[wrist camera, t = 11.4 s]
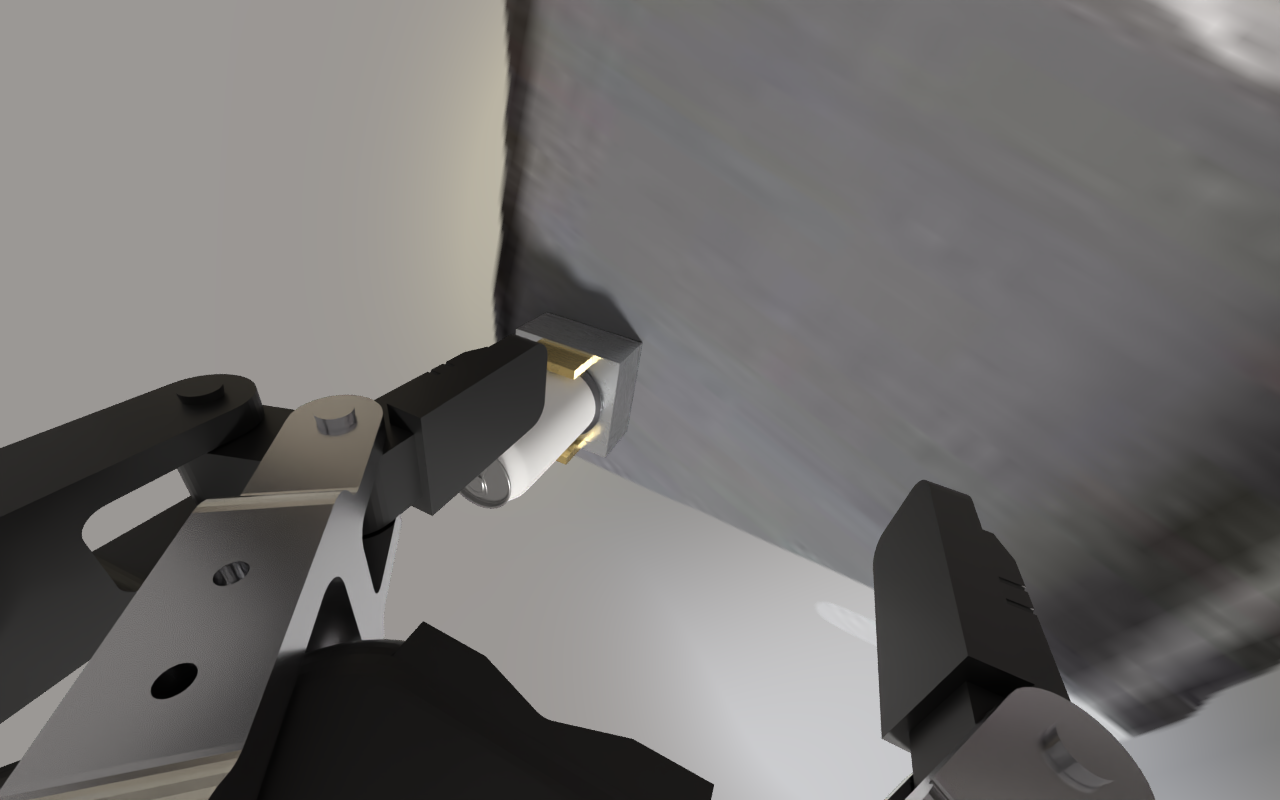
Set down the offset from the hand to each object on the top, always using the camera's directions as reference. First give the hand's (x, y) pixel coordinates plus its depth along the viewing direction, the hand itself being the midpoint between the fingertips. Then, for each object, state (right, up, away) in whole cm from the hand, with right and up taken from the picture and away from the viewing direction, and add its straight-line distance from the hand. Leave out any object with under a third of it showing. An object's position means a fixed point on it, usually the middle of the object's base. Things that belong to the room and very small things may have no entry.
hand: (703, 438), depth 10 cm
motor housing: (-7, +4, +36) cm, 37 cm away
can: (-8, +1, +31) cm, 32 cm away
